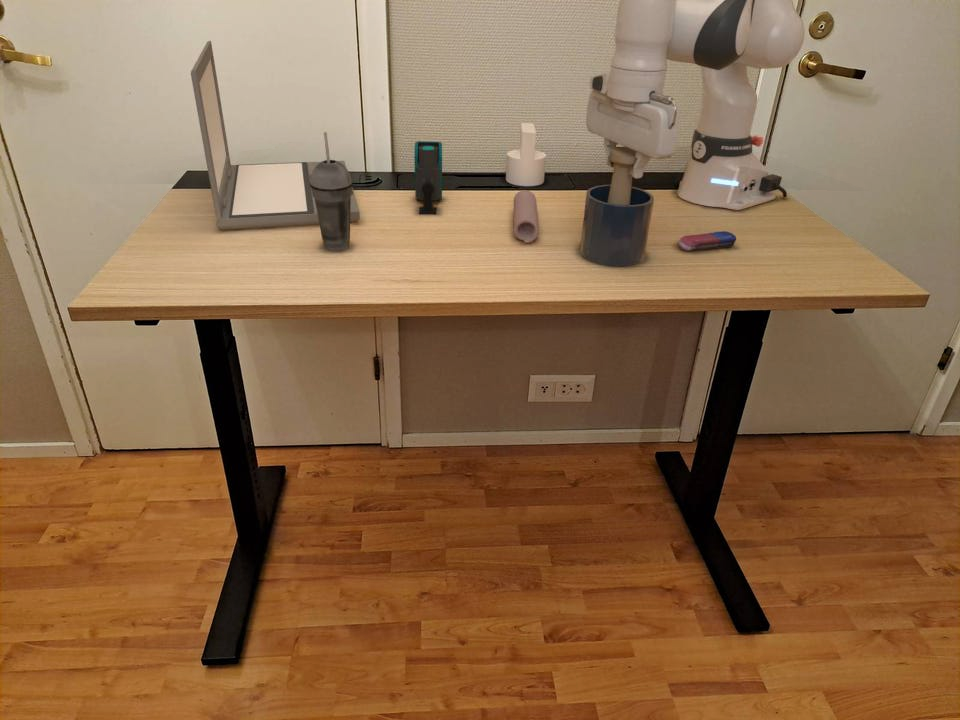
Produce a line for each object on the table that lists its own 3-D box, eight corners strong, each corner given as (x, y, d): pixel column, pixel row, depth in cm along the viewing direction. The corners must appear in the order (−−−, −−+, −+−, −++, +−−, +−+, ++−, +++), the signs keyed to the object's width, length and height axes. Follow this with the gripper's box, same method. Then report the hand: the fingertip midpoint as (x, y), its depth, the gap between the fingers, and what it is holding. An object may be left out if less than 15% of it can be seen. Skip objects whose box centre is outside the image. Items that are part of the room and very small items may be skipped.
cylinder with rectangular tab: (545, 186, 159) (549, 133, 153) (506, 185, 159) (508, 132, 153) (542, 175, 167) (546, 123, 160) (505, 173, 167) (507, 122, 160)
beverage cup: (322, 257, 121) (311, 141, 111) (311, 242, 127) (299, 130, 116) (362, 250, 124) (355, 137, 114) (349, 236, 130) (341, 127, 119)
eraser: (685, 253, 128) (687, 244, 127) (674, 244, 132) (675, 235, 131) (738, 246, 131) (740, 237, 130) (725, 238, 134) (727, 229, 133)
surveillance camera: (412, 154, 135) (414, 141, 143) (413, 213, 141) (415, 197, 150) (441, 154, 135) (442, 141, 144) (441, 214, 141) (442, 198, 150)
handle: (622, 229, 128) (635, 146, 120) (631, 242, 123) (645, 157, 115) (596, 228, 128) (607, 146, 120) (604, 242, 122) (616, 156, 114)
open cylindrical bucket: (618, 238, 134) (626, 181, 128) (657, 260, 125) (667, 201, 119) (567, 246, 129) (573, 189, 123) (604, 270, 120) (612, 209, 114)
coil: (541, 221, 127) (538, 190, 143) (515, 218, 127) (515, 187, 142) (536, 245, 130) (534, 212, 145) (511, 241, 130) (511, 209, 145)
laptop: (360, 224, 135) (350, 68, 120) (217, 233, 129) (188, 70, 114) (345, 171, 164) (335, 40, 149) (227, 176, 158) (205, 40, 143)
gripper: (694, 97, 105) (677, 187, 112) (614, 74, 120) (604, 154, 128) (662, 100, 103) (647, 191, 110) (584, 76, 118) (575, 157, 125)
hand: (623, 171), depth 119 cm, fingers closed on handle, 5 cm apart
